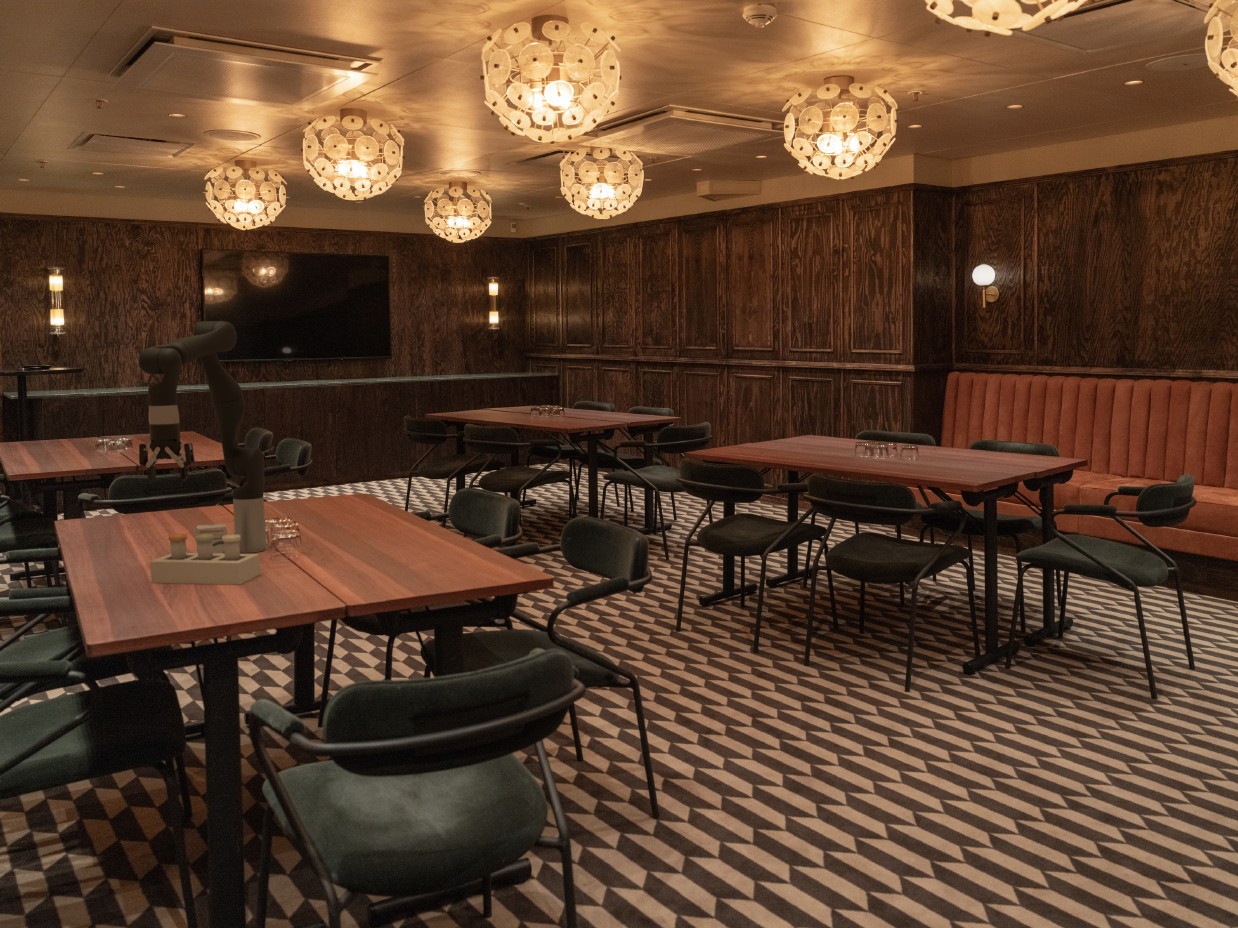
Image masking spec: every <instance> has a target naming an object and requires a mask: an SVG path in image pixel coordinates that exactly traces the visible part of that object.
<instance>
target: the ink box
mask: <svg viewBox="0 0 1238 928" xmlns="http://www.w3.org/2000/svg"><path fill="white" fill-rule="evenodd" d="M227 531H228V530H227V524H226V523H218V524H217V523H216V524H215V523H214V524H200V525H199V524H198V525H197V526H195V536H196V535H201V534H213V536H214V539H213V540H212V545H213V553H224V542H223V541H222V536H224V535H228V533H227ZM195 542H196V543H197V541H195ZM196 553H198V551H197V550H196Z"/></svg>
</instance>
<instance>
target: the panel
mask: <svg viewBox="0 0 1238 928" xmlns="http://www.w3.org/2000/svg"><path fill="white" fill-rule="evenodd" d="M186 555H187V558H186V559H184V560H171V553H170V554H166V555H165V556H162V557H159V558H156V559H153V560H151V561H149V565H150V582H151V584H152V583H153V584H155V583H156V584H157V583H158V584H160V583H161V584H190V585H191V584H194V585H198V584H199V585H240V586H241V585H242V584H244V583H246V582H249V581H250V580H252V579H254V578H257V577H259V576H261V562H260V561H261V560H260V553H240V560H238V561H225V554H224V553H213V559H212V560H198V553H197V552H186Z"/></svg>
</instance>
